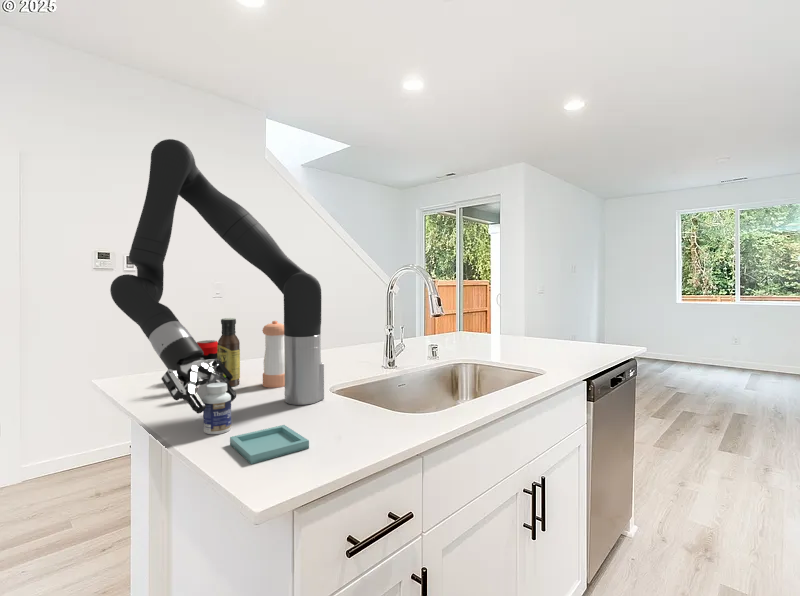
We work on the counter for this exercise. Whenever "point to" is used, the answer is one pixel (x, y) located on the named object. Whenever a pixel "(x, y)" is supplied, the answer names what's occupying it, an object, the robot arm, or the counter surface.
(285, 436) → the tray
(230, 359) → the sauce bottle
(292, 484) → the counter surface
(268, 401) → the counter surface
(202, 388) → the flask
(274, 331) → the salt shaker
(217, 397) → the pill bottle
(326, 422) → the counter surface
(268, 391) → the counter surface
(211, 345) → the soda can
